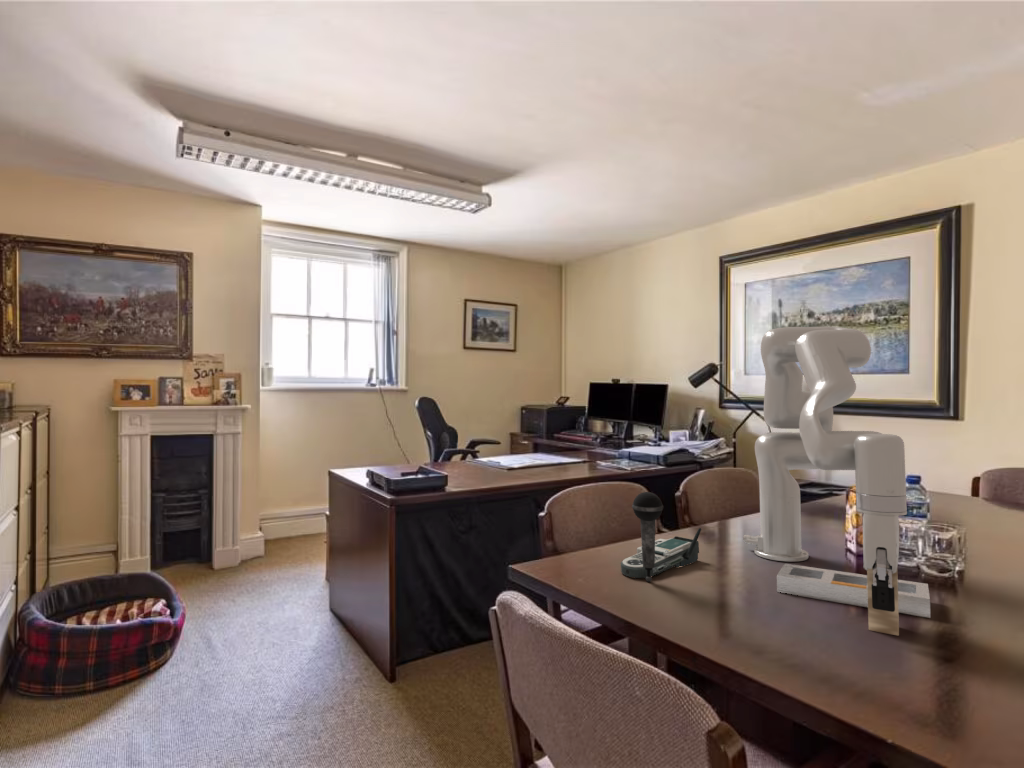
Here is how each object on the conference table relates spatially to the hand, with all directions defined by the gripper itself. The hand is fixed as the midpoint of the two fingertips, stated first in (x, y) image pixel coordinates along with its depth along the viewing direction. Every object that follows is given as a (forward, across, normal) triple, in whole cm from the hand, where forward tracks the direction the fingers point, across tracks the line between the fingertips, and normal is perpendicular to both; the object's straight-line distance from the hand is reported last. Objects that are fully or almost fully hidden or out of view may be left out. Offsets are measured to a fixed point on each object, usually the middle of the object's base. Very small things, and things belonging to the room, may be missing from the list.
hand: (884, 601), depth 100 cm
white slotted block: (+5, -15, -6) cm, 17 cm away
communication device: (+5, -14, -47) cm, 49 cm away
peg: (+5, 0, 0) cm, 5 cm away
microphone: (+5, -2, -44) cm, 45 cm away
